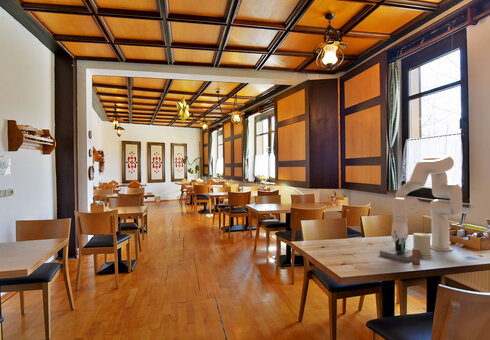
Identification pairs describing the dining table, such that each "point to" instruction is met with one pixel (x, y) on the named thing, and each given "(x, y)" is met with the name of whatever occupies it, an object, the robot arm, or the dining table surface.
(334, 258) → the dining table surface
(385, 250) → the socket plate
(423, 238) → the can
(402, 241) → the teal peg
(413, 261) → the walnut peg
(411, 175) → the robot arm
